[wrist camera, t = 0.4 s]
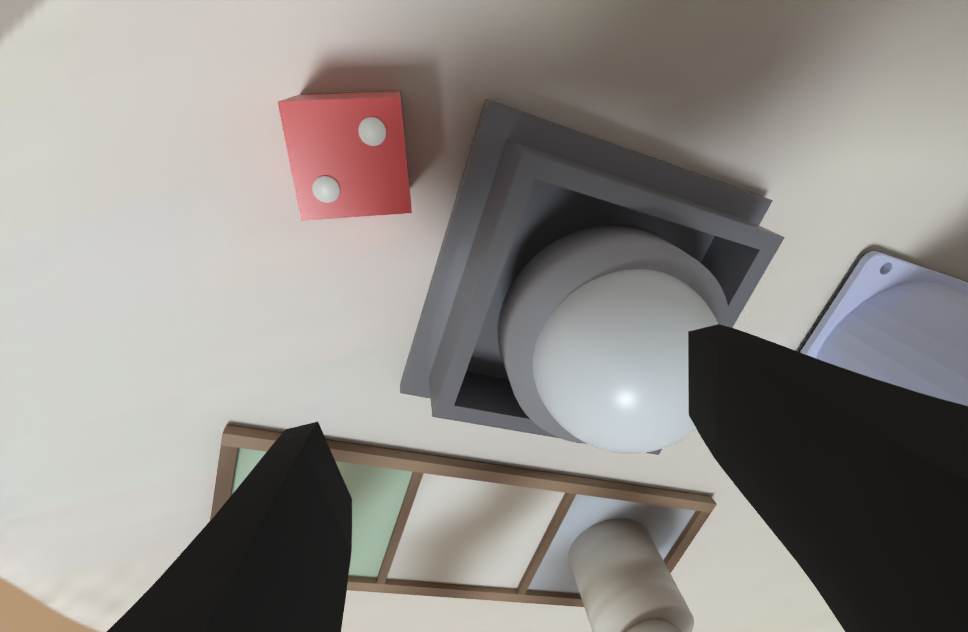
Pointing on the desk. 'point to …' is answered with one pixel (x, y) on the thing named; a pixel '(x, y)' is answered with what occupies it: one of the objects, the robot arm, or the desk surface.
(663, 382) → the dome
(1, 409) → the desk surface
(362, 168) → the red die
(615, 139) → the desk surface
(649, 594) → the pawn
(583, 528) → the compartment tray
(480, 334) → the popper base
